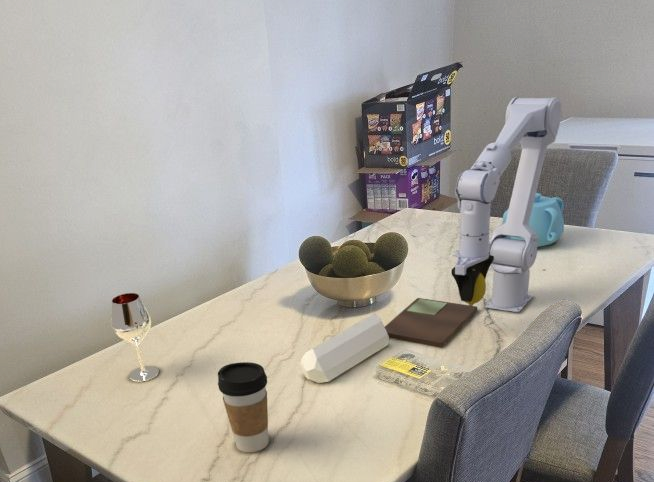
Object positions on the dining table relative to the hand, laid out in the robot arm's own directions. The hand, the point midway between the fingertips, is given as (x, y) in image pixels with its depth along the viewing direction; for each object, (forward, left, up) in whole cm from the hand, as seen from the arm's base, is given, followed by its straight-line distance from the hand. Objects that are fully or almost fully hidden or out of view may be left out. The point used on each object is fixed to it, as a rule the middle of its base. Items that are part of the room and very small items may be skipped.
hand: (471, 295), depth 146 cm
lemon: (0, 0, -2) cm, 3 cm away
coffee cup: (+55, -19, -9) cm, 59 cm away
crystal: (+21, -19, -9) cm, 30 cm away
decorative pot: (-60, -6, -9) cm, 61 cm away
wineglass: (+44, -57, -9) cm, 73 cm away
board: (-2, -10, -9) cm, 14 cm away
